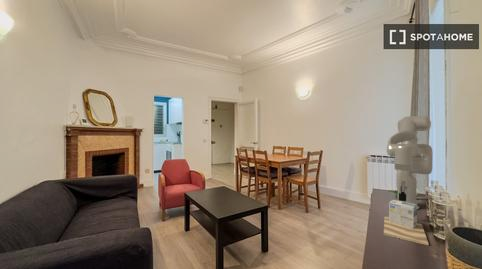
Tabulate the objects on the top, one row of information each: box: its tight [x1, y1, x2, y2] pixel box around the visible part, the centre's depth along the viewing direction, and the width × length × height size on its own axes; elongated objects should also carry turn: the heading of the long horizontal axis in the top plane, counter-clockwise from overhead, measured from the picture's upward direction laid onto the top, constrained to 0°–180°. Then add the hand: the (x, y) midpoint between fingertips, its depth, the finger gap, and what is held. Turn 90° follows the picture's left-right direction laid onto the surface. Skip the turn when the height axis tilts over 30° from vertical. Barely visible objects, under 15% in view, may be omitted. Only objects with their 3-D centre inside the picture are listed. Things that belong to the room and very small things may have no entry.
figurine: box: [387, 187, 398, 200], centre depth 151 cm, size 3×12×8 cm, turn 56°
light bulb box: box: [388, 199, 418, 229], centre depth 109 cm, size 11×7×11 cm, turn 38°
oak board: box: [383, 216, 429, 246], centre depth 104 cm, size 22×16×1 cm
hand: (402, 200), depth 116 cm, fingers closed
